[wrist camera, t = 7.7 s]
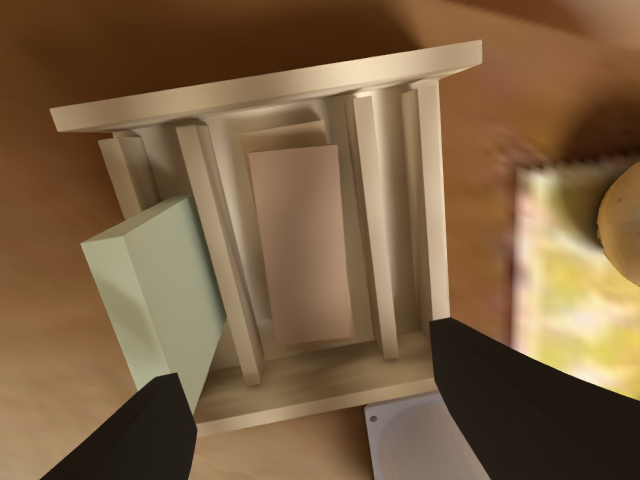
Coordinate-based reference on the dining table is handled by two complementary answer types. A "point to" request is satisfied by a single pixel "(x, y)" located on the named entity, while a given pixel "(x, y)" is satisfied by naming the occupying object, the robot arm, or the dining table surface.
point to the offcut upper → (302, 241)
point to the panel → (161, 292)
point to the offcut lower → (281, 140)
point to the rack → (357, 211)
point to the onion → (622, 224)
